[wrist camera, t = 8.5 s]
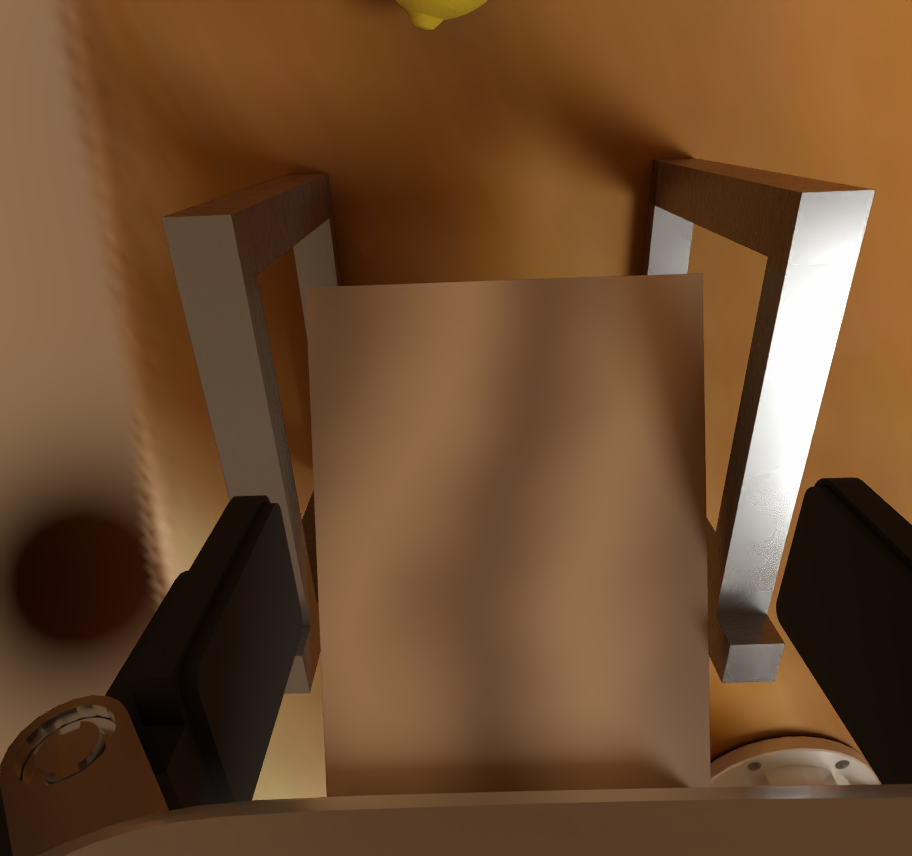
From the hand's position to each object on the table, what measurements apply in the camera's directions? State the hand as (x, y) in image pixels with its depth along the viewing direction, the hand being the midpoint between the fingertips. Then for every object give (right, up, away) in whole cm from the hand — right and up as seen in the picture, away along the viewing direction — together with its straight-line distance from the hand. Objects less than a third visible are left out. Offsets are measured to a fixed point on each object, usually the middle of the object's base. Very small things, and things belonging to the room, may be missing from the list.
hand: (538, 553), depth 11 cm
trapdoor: (0, -3, +10) cm, 10 cm away
